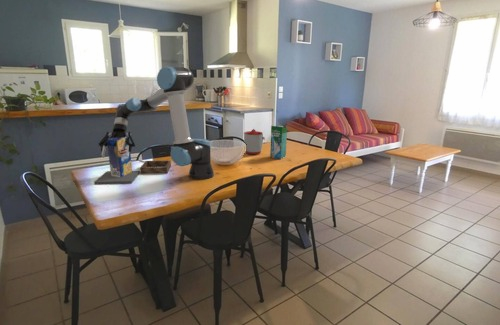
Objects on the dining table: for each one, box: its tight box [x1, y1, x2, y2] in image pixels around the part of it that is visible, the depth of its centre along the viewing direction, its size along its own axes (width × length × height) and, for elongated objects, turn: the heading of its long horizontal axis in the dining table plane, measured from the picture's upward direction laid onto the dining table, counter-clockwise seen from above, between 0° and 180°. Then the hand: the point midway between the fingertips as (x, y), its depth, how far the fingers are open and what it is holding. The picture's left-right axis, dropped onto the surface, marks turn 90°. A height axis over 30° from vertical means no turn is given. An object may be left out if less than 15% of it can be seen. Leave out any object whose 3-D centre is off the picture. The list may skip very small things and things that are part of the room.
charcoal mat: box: [93, 170, 141, 185], centre depth 177 cm, size 20×20×2 cm
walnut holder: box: [139, 160, 172, 175], centre depth 194 cm, size 16×16×4 cm
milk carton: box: [269, 125, 288, 160], centre depth 227 cm, size 9×9×25 cm
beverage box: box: [107, 136, 133, 177], centre depth 178 cm, size 7×11×22 cm, turn 167°
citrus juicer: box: [243, 128, 266, 155], centre depth 240 cm, size 16×17×20 cm
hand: (115, 156), depth 172 cm, fingers open, 13 cm apart
